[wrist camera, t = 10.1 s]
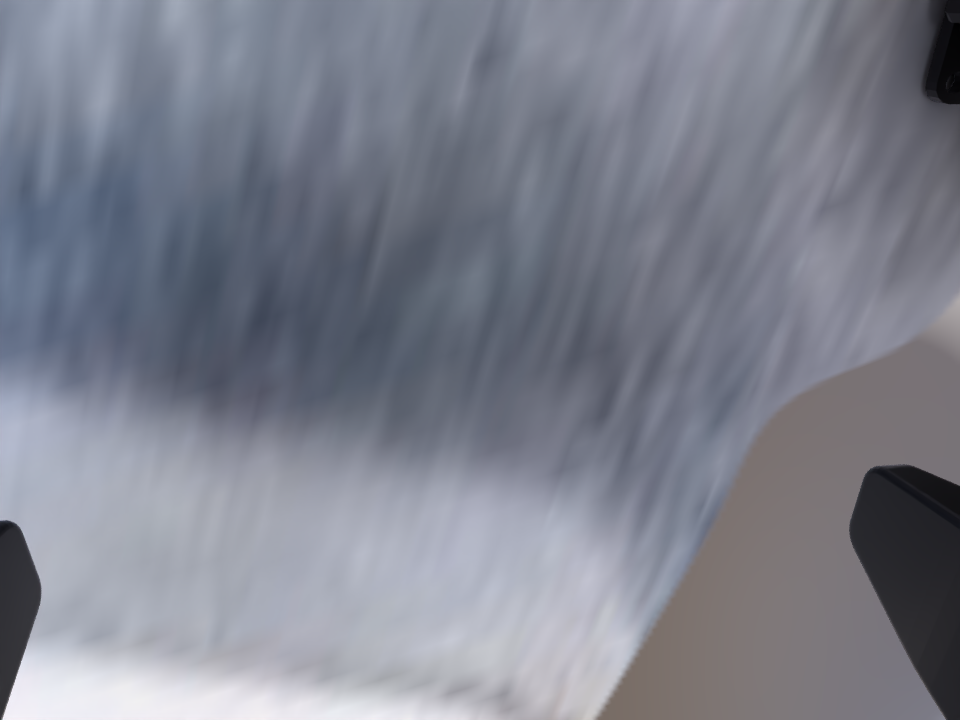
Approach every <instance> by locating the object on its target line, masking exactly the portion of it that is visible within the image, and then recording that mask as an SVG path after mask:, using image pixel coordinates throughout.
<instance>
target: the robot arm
mask: <svg viewBox="0 0 960 720" xmlns="http://www.w3.org/2000/svg"><path fill="white" fill-rule="evenodd" d="M945 11H946V12H945V16H944V19H943V23H942V26H941V30H940V34H939V37H938V41H937V44H936V48H935V52H934V55H933V59H932V63H931V66H930V70H929V73H928V77H927V81H926V92H927V96H928V97H929V98H930V99H931V100H932V101H937V102H941V103H947V104H960V0H948V2H947V5H946V10H945ZM952 74H954V75H955V77H954V83H953V84H952V86H951V87H950V88H949V89H948V90H946V82H947V80H948V78H949V77H950V76H951V75H952ZM849 532H850V539H851V542H852V545H853V548H854V549H855V552H856V554H857V556H858V558H859V560H860V562H861V564H862V566H863V568H864V569H865V572H866V574H867V576H868V577H869V580H870V582H871V584H872V586H873V588H874V590H875V592H876V594H877V596H878V598H879V600H880V602H881V604H882V605H883V608H884V610H885V611H886V614H887V616H888V618H889V620H890V622H891V624H892V626H893V627H894V630H895V632H896V634H897V635H898V638H899V639H900V641H901V643H902V645H903V647H904V649H905V651H906V653H907V655H908V657H909V659H910V661H911V662H912V664H913V666H914V668H915V670H916V672H917V673H918V675H919V676H920V678H921V680H922V682H923V683H924V685H925V687H926V688H927V690H928V692H929V693H930V695H931V696H932V698H933V700H934V701H935V703H936V705H937V706H938V708H939V709H940V711H941V712H942V714H943V716H944V717H945V719H946V720H960V486H959V485H957V484H954V483H952V482H949V481H947V480H945V479H942V478H940V477H938V476H935V475H933V474H931V473H928V472H926V471H924V470H921V469H919V468H917V467H914V466H911V465H905V464H903V465H886V466H876V467H873V468H871V469H870V470H869V471H868V472H867V473H866V474H865V477H864V479H863V482H862V485H861V489H860V492H859V495H858V498H857V502H856V504H855V508H854V511H853V514H852V518H851V520H850V527H849ZM40 601H41V583H40V579H39V576H38V573H37V571H36V568H35V565H34V563H33V560H32V557H31V554H30V552H29V549H28V546H27V544H26V541H25V538H24V535H23V533H22V531H21V529H20V528H19V526H18V525H17V524H15V523H14V522H11V521H6V520H5V521H0V720H2V718H3V715H4V712H5V709H6V706H7V703H8V700H9V697H10V694H11V691H12V688H13V685H14V682H15V679H16V676H17V673H18V670H19V667H20V664H21V661H22V658H23V655H24V652H25V649H26V646H27V643H28V640H29V637H30V634H31V631H32V627H33V624H34V621H35V618H36V615H37V612H38V609H39V606H40Z"/></svg>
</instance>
